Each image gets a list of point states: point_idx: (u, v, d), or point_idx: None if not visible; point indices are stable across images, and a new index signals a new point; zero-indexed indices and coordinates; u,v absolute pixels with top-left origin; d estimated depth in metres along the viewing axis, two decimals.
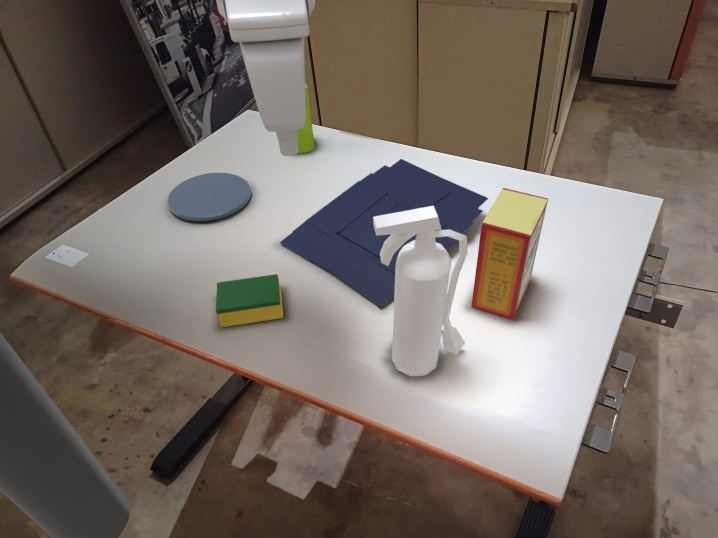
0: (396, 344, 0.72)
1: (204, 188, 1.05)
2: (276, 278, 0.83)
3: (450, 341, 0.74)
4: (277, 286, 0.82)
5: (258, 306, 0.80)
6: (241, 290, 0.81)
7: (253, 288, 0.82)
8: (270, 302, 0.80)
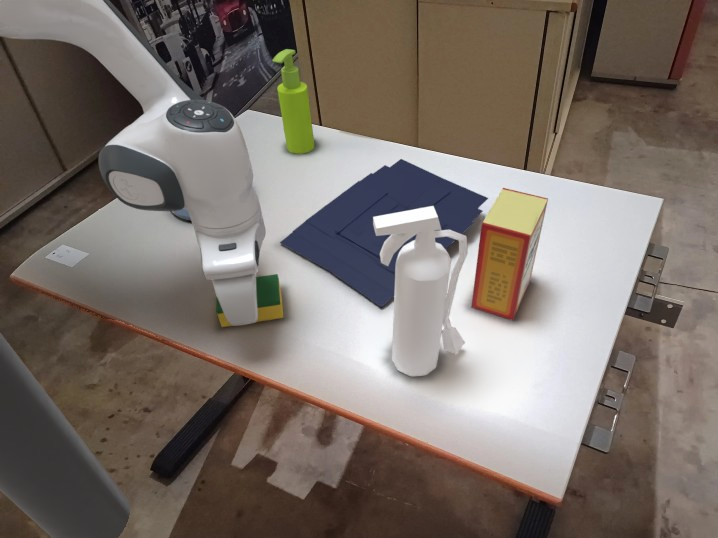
0: (396, 344, 0.72)
1: None
2: (276, 278, 0.83)
3: (450, 341, 0.74)
4: (277, 286, 0.82)
5: (258, 306, 0.80)
6: None
7: None
8: (270, 302, 0.80)
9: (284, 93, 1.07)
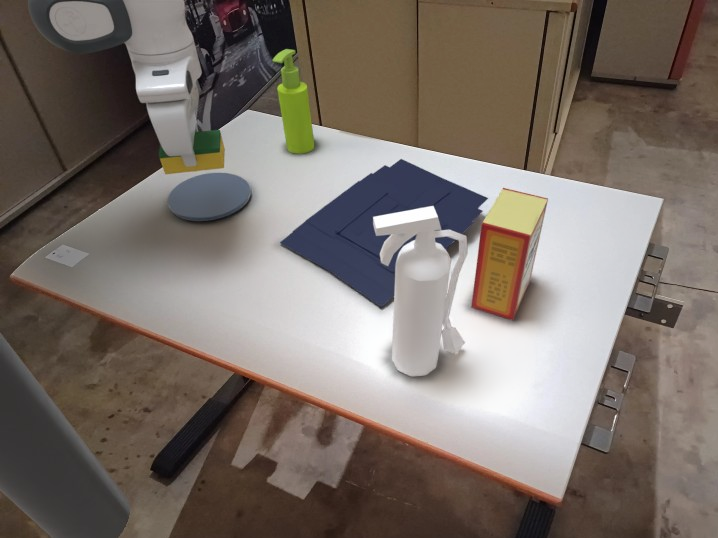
0: (396, 344, 0.72)
1: (204, 188, 1.05)
2: (218, 132, 0.88)
3: (450, 341, 0.74)
4: (218, 138, 0.87)
5: (198, 152, 0.85)
6: None
7: (195, 139, 0.87)
8: (210, 149, 0.85)
9: (284, 93, 1.07)
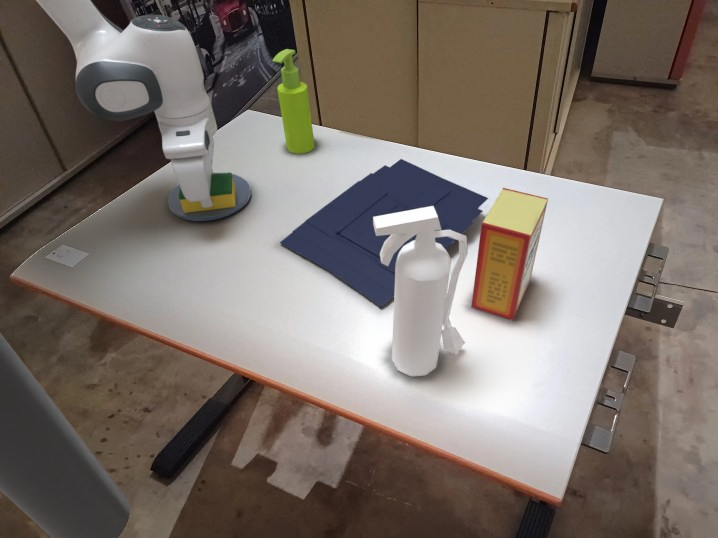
0: (396, 344, 0.72)
1: None
2: (230, 175, 1.01)
3: (450, 341, 0.74)
4: (230, 180, 1.00)
5: (213, 194, 0.98)
6: None
7: None
8: (223, 191, 0.98)
9: (284, 93, 1.07)
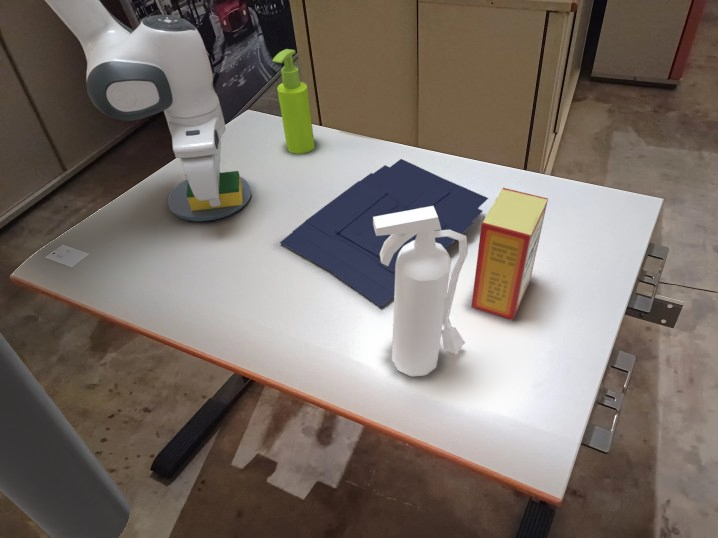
0: (396, 344, 0.72)
1: None
2: (237, 173, 1.01)
3: (450, 341, 0.74)
4: (237, 178, 1.00)
5: (221, 192, 0.98)
6: None
7: None
8: (230, 189, 0.98)
9: (284, 93, 1.07)
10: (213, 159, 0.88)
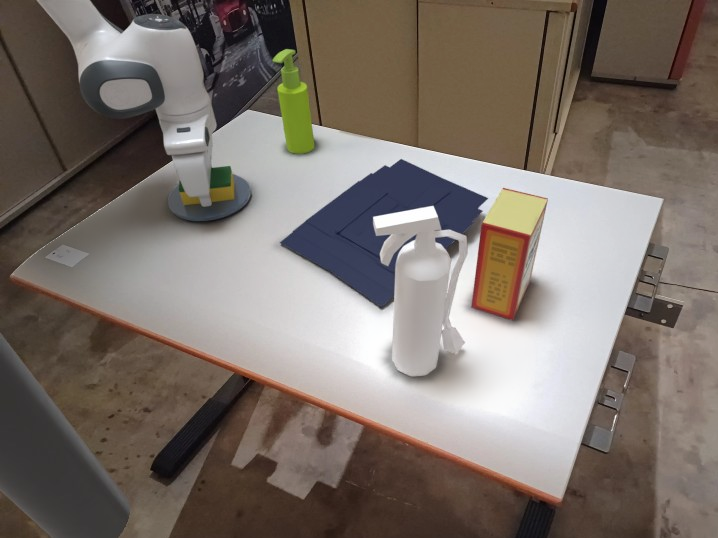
0: (396, 344, 0.72)
1: None
2: (229, 168, 1.03)
3: (450, 341, 0.74)
4: (229, 173, 1.02)
5: (213, 187, 0.99)
6: None
7: None
8: (222, 183, 0.99)
9: (284, 93, 1.07)
10: (204, 156, 0.89)
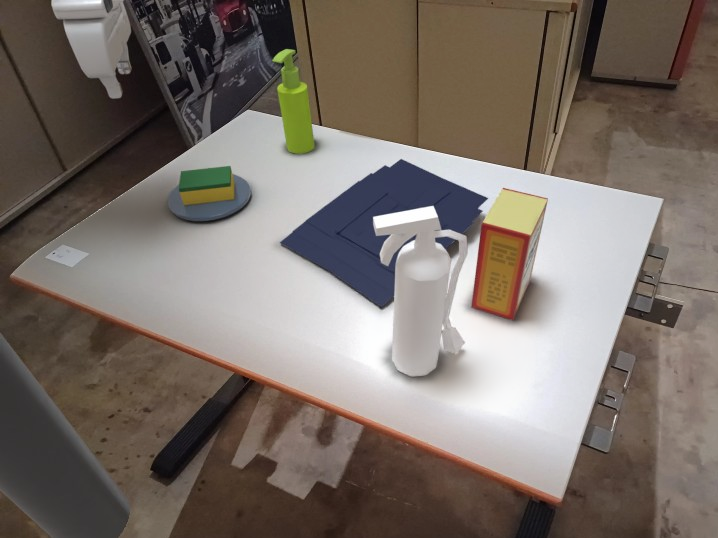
0: (396, 344, 0.72)
1: None
2: (229, 168, 1.03)
3: (450, 341, 0.74)
4: (229, 173, 1.02)
5: (213, 187, 0.99)
6: (200, 176, 1.01)
7: (209, 174, 1.01)
8: (222, 183, 0.99)
9: (284, 93, 1.07)
10: (102, 23, 0.74)
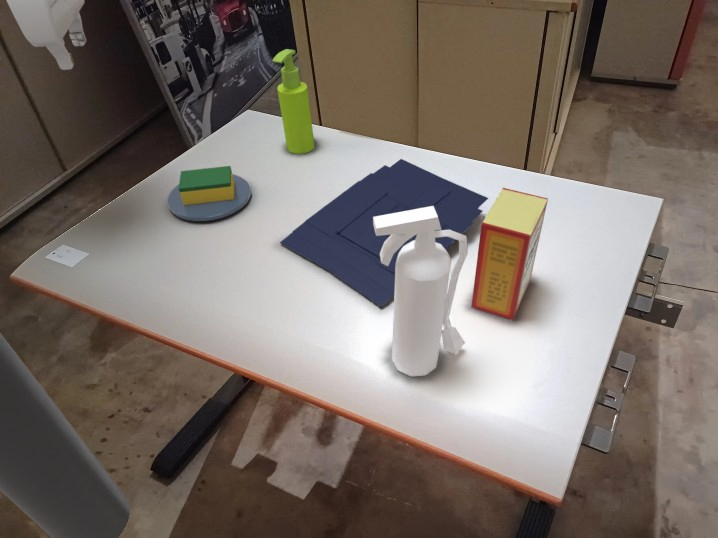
0: (396, 344, 0.72)
1: None
2: (229, 168, 1.03)
3: (450, 341, 0.74)
4: (229, 173, 1.02)
5: (213, 187, 0.99)
6: (200, 176, 1.01)
7: (209, 174, 1.01)
8: (222, 183, 0.99)
9: (284, 93, 1.07)
10: None
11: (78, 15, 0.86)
